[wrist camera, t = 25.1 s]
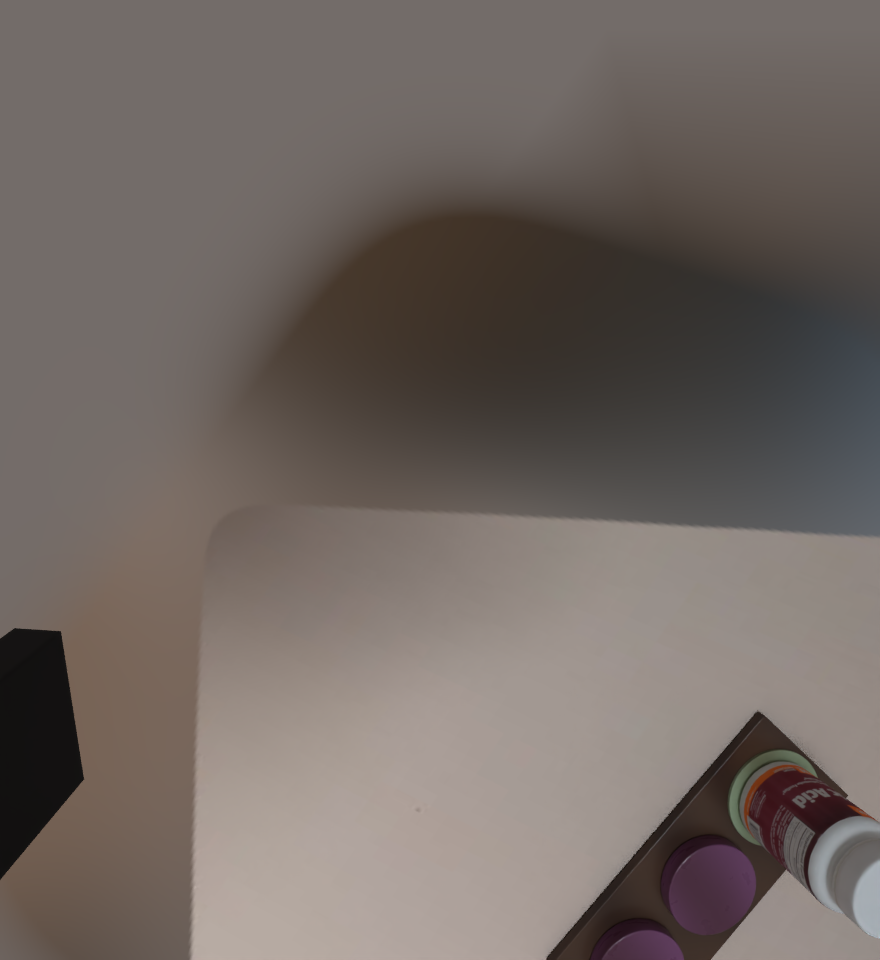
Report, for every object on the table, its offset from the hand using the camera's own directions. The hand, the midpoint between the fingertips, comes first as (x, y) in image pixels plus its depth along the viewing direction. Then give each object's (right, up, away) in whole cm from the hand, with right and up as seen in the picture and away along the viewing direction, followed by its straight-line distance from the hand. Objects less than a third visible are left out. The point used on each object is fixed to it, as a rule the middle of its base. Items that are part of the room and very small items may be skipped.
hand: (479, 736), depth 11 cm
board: (+14, -18, +30) cm, 38 cm away
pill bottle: (+18, -14, +30) cm, 37 cm away
